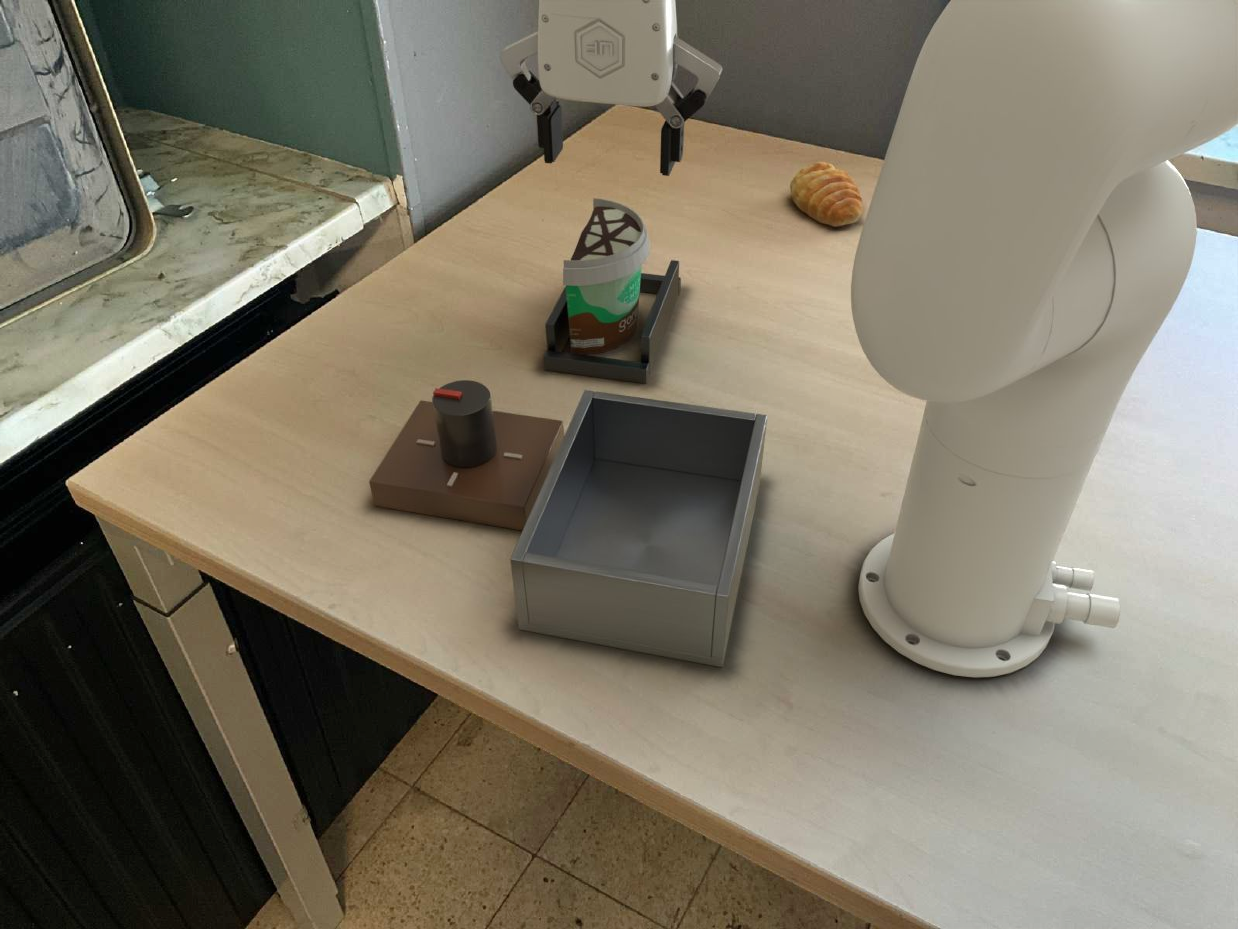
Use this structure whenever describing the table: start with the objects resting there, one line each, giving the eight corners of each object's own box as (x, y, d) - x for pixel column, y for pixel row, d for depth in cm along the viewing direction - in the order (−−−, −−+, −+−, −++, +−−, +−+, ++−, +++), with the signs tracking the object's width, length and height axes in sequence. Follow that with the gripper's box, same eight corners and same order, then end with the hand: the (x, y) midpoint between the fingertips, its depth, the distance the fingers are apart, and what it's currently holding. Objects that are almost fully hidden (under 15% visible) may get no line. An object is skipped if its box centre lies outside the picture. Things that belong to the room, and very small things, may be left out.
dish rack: (680, 290, 97) (681, 254, 94) (646, 383, 86) (646, 345, 83) (589, 279, 99) (587, 243, 96) (543, 370, 87) (540, 331, 85)
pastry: (877, 224, 106) (883, 191, 104) (820, 235, 105) (824, 202, 102) (836, 187, 113) (840, 154, 110) (781, 196, 111) (784, 164, 109)
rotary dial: (565, 444, 80) (563, 418, 78) (527, 531, 73) (524, 505, 71) (424, 423, 82) (420, 398, 80) (374, 506, 75) (368, 479, 73)
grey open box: (759, 484, 76) (767, 414, 72) (722, 668, 63) (729, 597, 59) (587, 458, 79) (584, 389, 74) (518, 629, 66) (509, 559, 61)
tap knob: (504, 436, 77) (497, 380, 73) (486, 471, 74) (478, 415, 70) (453, 428, 78) (444, 373, 74) (433, 463, 74) (422, 407, 71)
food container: (635, 370, 87) (635, 270, 80) (567, 363, 88) (561, 263, 81) (659, 296, 96) (661, 200, 90) (597, 290, 97) (594, 194, 90)
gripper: (473, -61, 69) (495, 171, 80) (720, -45, 66) (706, 194, 77) (507, -89, 74) (523, 133, 86) (737, -75, 71) (722, 153, 83)
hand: (610, 162), depth 82 cm, fingers open, 9 cm apart
